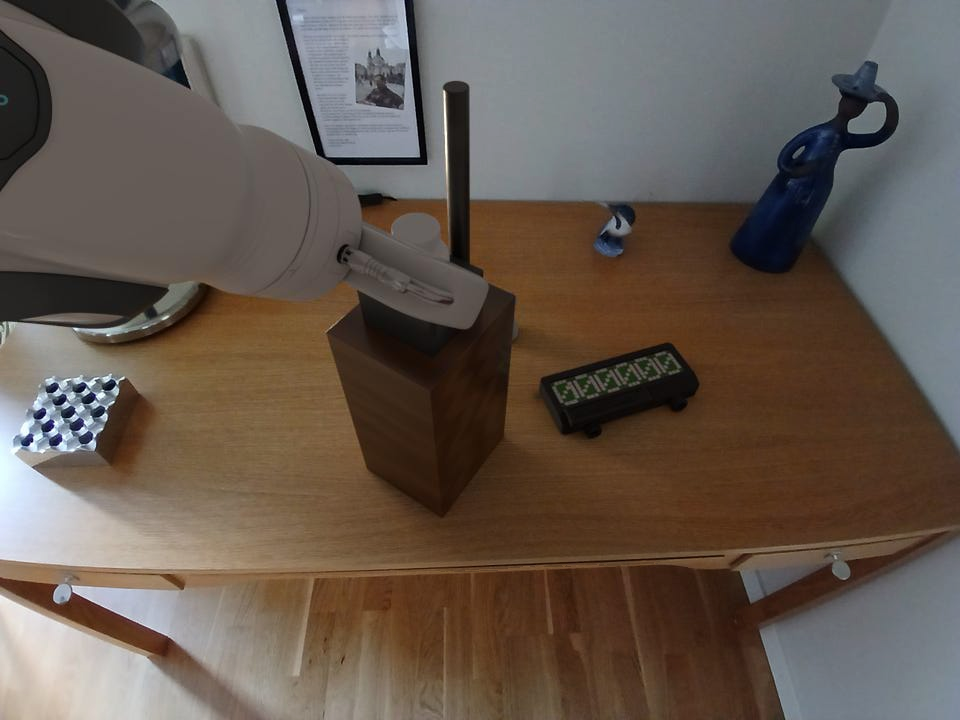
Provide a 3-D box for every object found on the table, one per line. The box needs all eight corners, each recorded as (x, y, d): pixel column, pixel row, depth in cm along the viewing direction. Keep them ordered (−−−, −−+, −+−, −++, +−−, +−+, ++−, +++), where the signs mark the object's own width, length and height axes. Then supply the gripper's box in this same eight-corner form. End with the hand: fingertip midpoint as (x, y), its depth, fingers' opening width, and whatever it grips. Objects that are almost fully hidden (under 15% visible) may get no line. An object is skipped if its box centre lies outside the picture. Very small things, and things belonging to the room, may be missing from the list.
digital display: (570, 433, 71) (538, 376, 77) (566, 446, 74) (536, 390, 80) (711, 390, 76) (671, 339, 82) (703, 404, 78) (665, 353, 84)
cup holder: (442, 518, 67) (411, 197, 32) (366, 468, 71) (266, 136, 36) (504, 435, 75) (532, 103, 40) (432, 395, 79) (401, 61, 44)
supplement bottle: (428, 341, 50) (420, 257, 43) (382, 316, 52) (367, 231, 45) (462, 306, 53) (461, 221, 46) (417, 283, 55) (409, 199, 47)
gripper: (449, 239, 28) (531, 276, 41) (188, 120, 35) (327, 184, 48) (401, 351, 29) (496, 353, 42) (157, 214, 36) (302, 252, 49)
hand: (404, 262), depth 45 cm, fingers open, 8 cm apart
